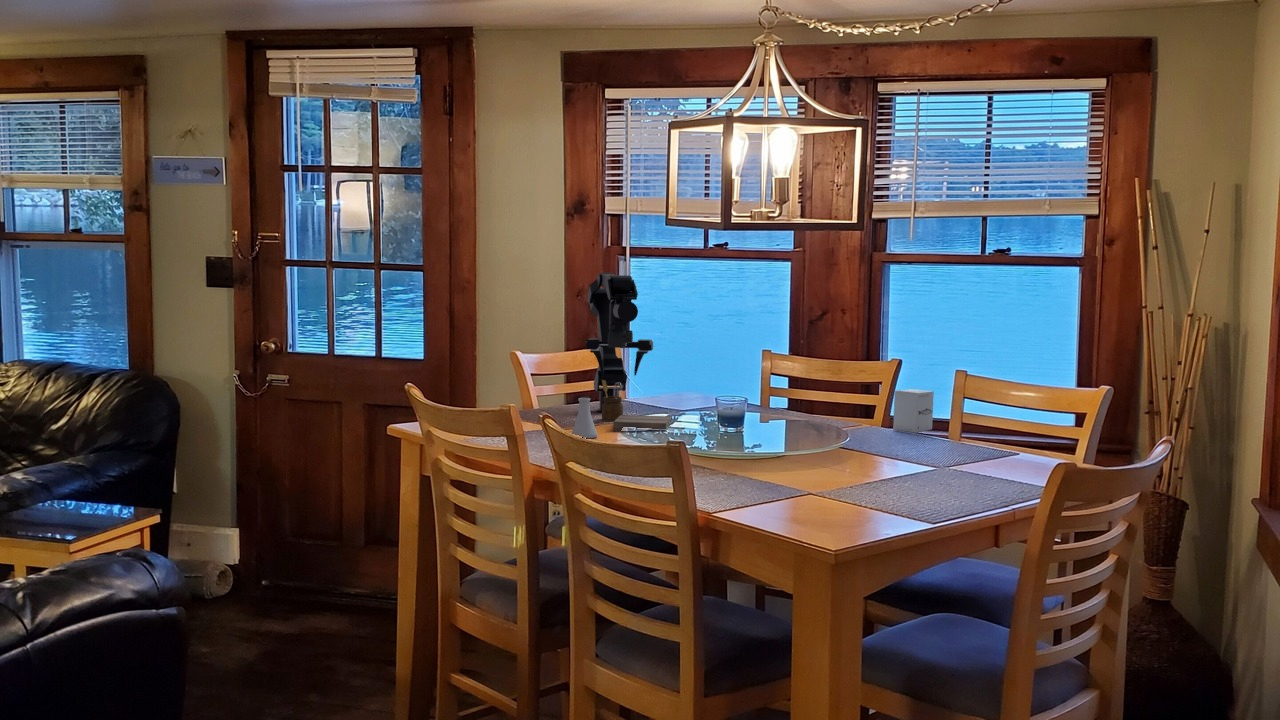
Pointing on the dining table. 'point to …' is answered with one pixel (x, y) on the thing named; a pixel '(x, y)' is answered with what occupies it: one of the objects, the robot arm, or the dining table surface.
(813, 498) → the dining table surface
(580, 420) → the flask
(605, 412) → the utensil holder
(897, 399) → the supplement box
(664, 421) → the walnut plinth
